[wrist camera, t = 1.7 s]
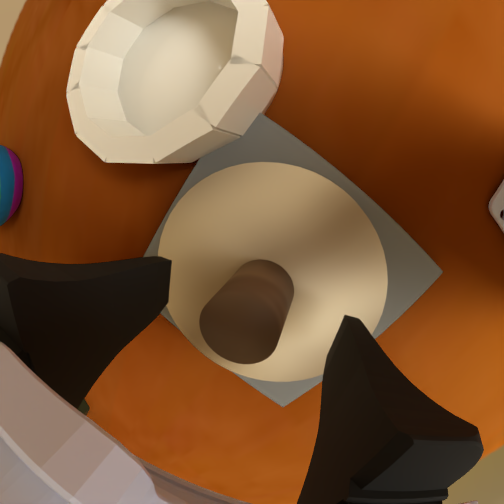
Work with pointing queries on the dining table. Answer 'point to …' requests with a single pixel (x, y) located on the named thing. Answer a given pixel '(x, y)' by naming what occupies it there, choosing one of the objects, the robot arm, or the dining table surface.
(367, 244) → the lid
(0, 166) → the decorative egg
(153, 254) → the mat
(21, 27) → the dining table surface
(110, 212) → the dining table surface
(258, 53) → the bowl
